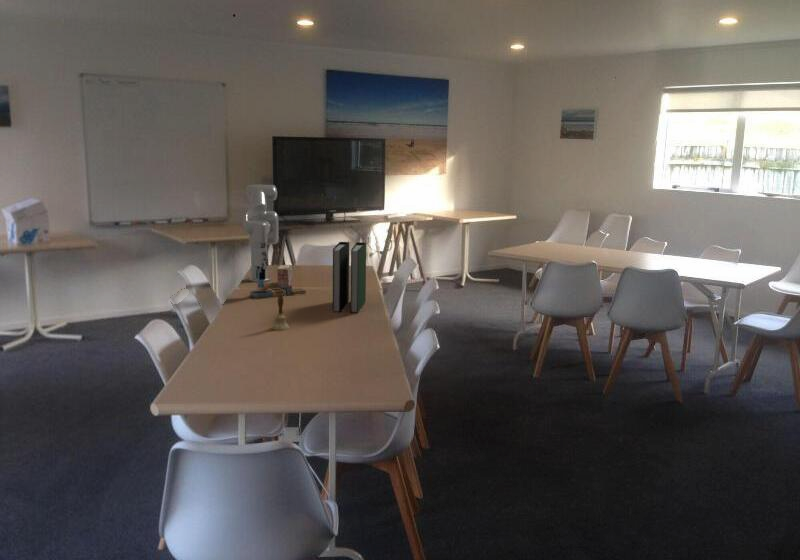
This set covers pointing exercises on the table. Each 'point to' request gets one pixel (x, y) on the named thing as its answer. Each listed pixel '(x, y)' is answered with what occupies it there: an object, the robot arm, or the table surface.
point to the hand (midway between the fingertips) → (260, 278)
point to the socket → (277, 291)
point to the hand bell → (280, 317)
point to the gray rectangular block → (287, 288)
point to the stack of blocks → (284, 275)
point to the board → (298, 291)
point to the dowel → (260, 282)
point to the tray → (260, 294)
